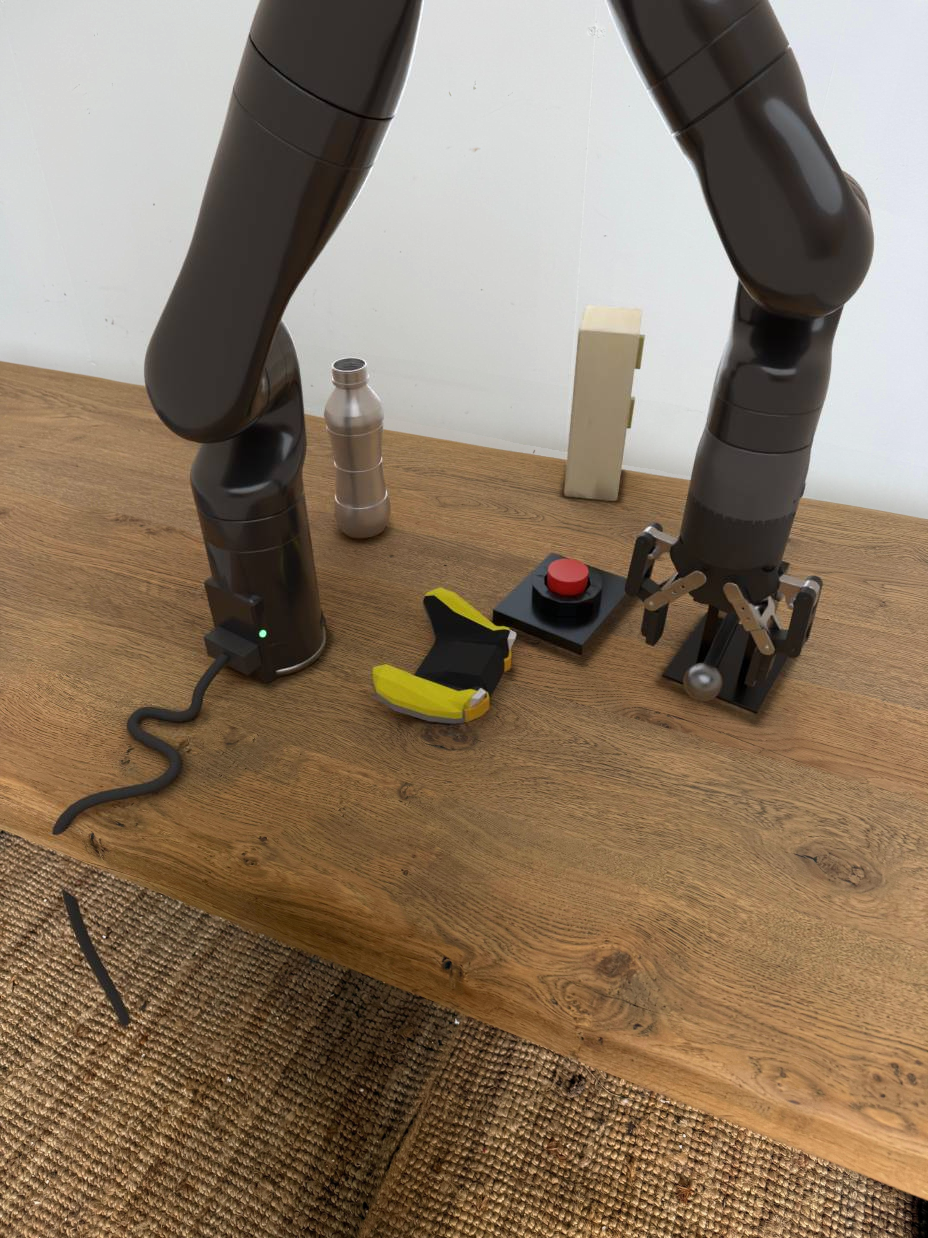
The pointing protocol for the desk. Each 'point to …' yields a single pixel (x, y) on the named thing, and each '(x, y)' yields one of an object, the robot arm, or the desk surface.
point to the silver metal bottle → (357, 450)
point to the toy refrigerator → (602, 400)
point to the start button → (567, 576)
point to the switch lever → (711, 664)
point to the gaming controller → (450, 665)
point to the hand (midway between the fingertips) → (702, 659)
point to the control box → (562, 607)
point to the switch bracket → (728, 659)
